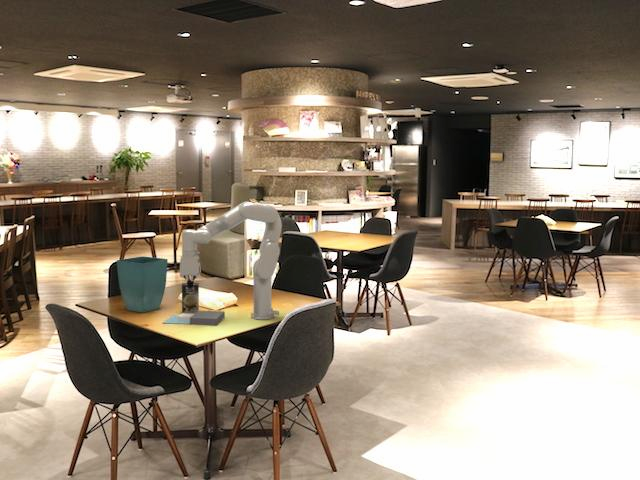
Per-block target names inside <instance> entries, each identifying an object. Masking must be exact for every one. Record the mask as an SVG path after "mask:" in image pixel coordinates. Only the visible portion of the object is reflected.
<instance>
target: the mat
mask: <svg viewBox="0 0 640 480" xmlns="http://www.w3.org/2000/svg"><path fill="white" fill-rule="evenodd" d="M179 315H180V314H173V315H171V316H169V317H168V318H166V319H165V320H164V321H162V324H170V325H171V324H172V325H191V324H190V321H177V316H179Z"/></svg>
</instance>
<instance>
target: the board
mask: <svg viewBox="0 0 640 480" xmlns="http://www.w3.org/2000/svg"><path fill="white" fill-rule="evenodd" d="M225 318H226V311H224V310H201V309H199V311H198V312H197V313H195V314H194V315H193V316H191V317H190V324H189V325H195V326H196V325H197V326H218V325H219V324H220V323H221V322H222V321H224V319H225Z"/></svg>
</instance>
